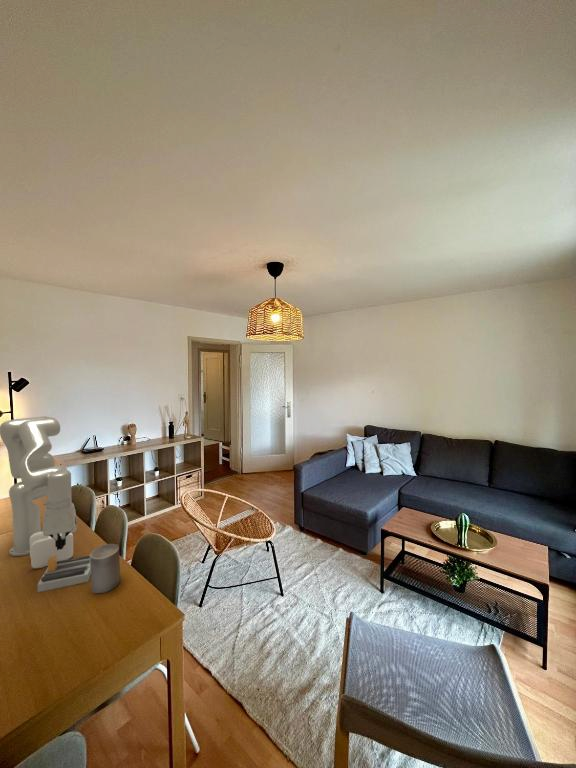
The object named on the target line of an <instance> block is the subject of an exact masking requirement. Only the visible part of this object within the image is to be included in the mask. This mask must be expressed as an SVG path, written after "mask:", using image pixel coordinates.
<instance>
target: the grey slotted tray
mask: <svg viewBox="0 0 576 768" xmlns="http://www.w3.org/2000/svg"><path fill="white" fill-rule="evenodd" d="M57 566H58V570H56V571H51V572H47V571H48V567H47V568H46V570H45V571H44V573H43V574H42V577H41V578H40V579H39V581H38V583H37V593H41V592H46V591H50V590H56V589H59V588H64V587H69V586H74V585H78V584H79V585H80V584H84V583H88V582H89V580H90V579H91V567H90V554H89V555H86V556H85V555H84V556H79V557H74V558H69V559H68V560H62V561H57Z"/></svg>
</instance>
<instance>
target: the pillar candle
mask: <svg viewBox="0 0 576 768" xmlns="http://www.w3.org/2000/svg"><path fill="white" fill-rule="evenodd" d="M89 555H90V567H91V575H90V587H91V592H92V593H93V594H104V593H107V592H111V591H112V590H114V589H115V588H116V587H117V586H119V584H120V582H121V562H120V547H119V544H116V543H106V544H102V545H99V546H97V547H95V548H94V549H93V550H92V551H91V552H90V554H89Z"/></svg>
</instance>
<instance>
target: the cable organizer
mask: <svg viewBox="0 0 576 768" xmlns="http://www.w3.org/2000/svg"><path fill="white" fill-rule="evenodd" d="M60 536H62V533H60ZM56 555H57V561H62V560H68V559H72V557H73V556H74V534H73V532H72V533H69V534H68V535H67V536H66V545H65V546H64V547H63V549H61V550H60V549H59V550H57V547H55V540H54V539H53V538H52V537H50V536H43V530H41V532H37V533H34V534H33V535H31V536H30V554H29V557H30V561H31V562H30V564H31V565H30V566H31V568H33V569H41V568H45V567H48V560H49V558H50V557H51V556H56Z"/></svg>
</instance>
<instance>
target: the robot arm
mask: <svg viewBox="0 0 576 768" xmlns="http://www.w3.org/2000/svg"><path fill="white" fill-rule="evenodd" d="M60 432H61V424H60V422H59V421H58V420H57V419H56V418H55V417H51V416H35V417H26V418H25V417H24V418H16V419H14V418H13V419H10V420H6V421H4V422H2V423H1V424H0V438H1V440H2V443H3V444H4V446H5V447H6V449H7V454H8V462H9V469H10V474H11V476H12V478H13V479H18V480H19V479H21V481H19V482H16V483H14V484H13V485H11V486H10V488H9V489H8V490H9V491H8V496H9V500H10V504H11V510H12V528H13V529H12V534H13V546H12V547H11V548H10V549H9V555H10V556H11V557H23V556H27V555H30V536H31V535H33V534H34V533H37V532H41V531H43V536H50V537H52V538H53V539H54V540H55V547H57V550H59V549H60V550H61V549H63V547H64V546H65V545H66V536H67V535H68V534H69V533H72V534H73V533H75V532H76V531H77V529H78V528H77V513H76V509H75V508H76V507H75V504H74V502H72V473H71V471H70V470H69V469H68V468H67V467H66V466H65V465H61V464H59V465H56V463H55V458H54V457H53V455H52V454H51V453H49V452H50V451H51V450H52V448H53V447H52V442H51V441H50V439H49V437H54V436H55V437H56V436H57V435H59V434H60ZM46 497H47V499H46V501H43V502H42V506H46V507H45V508H44V512H43V519H42V524H41V509H40V506H39V505H38V504H37V503H35V502H34V501H35V500H38V499H42V498H46ZM41 525H42V529H41ZM60 533H62V536H60Z"/></svg>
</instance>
